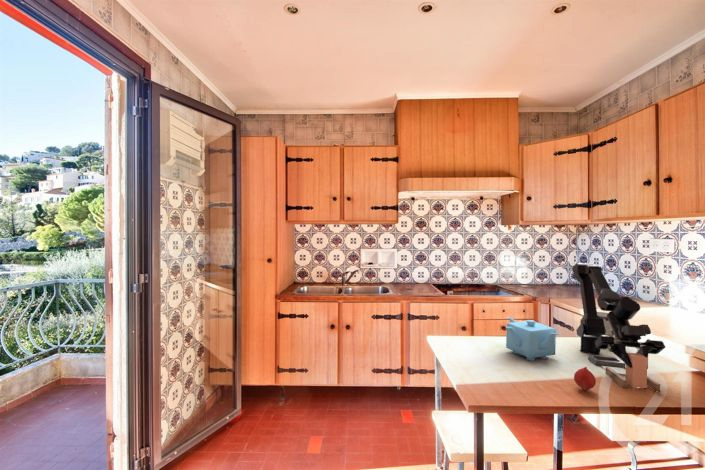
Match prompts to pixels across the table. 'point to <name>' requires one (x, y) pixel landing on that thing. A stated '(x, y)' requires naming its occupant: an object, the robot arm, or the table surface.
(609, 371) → the channel
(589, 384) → the onion
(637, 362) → the block
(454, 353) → the table surface
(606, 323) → the coffee can
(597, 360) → the tray
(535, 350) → the blue lidded box
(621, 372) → the pad
